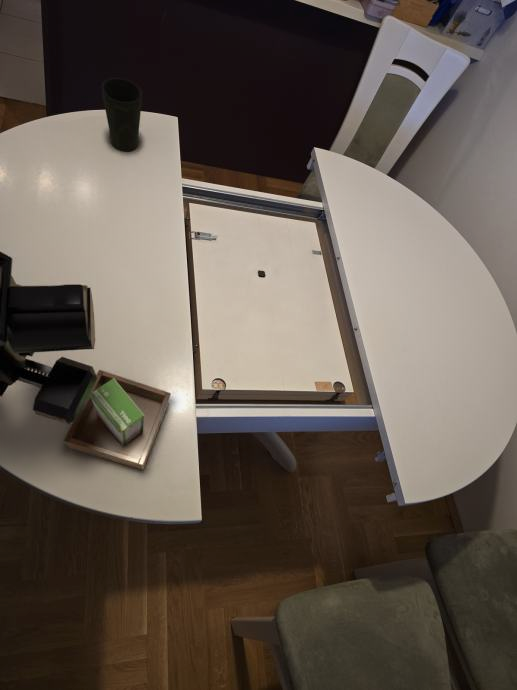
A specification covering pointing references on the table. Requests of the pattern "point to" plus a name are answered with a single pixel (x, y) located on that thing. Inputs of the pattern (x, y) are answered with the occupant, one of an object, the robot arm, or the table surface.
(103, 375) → the holder
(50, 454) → the table surface
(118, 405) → the ink box
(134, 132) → the cup
